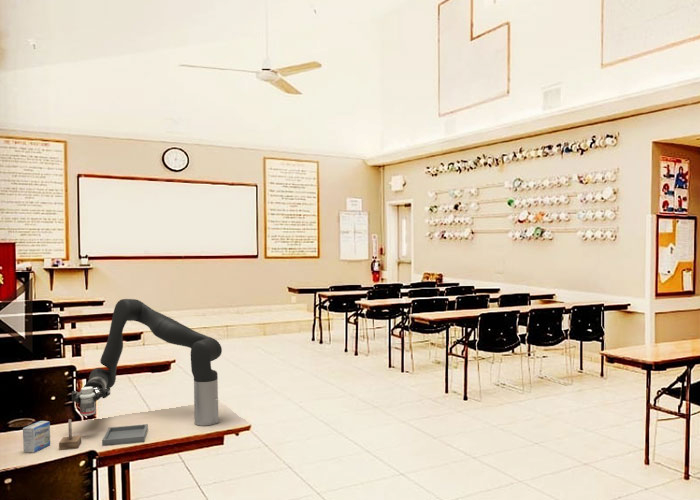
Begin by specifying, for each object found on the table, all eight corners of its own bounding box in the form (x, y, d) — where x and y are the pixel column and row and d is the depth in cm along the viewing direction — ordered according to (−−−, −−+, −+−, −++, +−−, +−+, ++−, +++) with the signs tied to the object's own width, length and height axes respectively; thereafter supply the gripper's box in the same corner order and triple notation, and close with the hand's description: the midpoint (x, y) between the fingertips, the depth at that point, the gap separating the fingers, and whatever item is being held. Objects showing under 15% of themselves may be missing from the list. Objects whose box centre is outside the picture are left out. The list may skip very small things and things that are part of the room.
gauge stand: (81, 442, 201) (80, 416, 201) (77, 448, 195) (77, 421, 195) (63, 444, 199) (62, 417, 199) (59, 450, 193) (58, 423, 193)
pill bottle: (83, 412, 209) (82, 386, 209) (98, 411, 210) (97, 385, 209) (77, 416, 204) (76, 390, 203) (93, 415, 204) (91, 389, 204)
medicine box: (34, 453, 191) (33, 428, 191) (22, 452, 192) (22, 427, 192) (50, 444, 199) (50, 421, 199) (39, 444, 200) (39, 420, 199)
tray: (147, 429, 214) (147, 424, 214) (143, 441, 201) (143, 436, 200) (108, 432, 211) (108, 427, 210) (102, 445, 197) (102, 440, 197)
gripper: (75, 380, 218) (64, 391, 202) (114, 377, 222) (106, 387, 206) (75, 399, 219) (65, 411, 202) (114, 395, 222) (107, 407, 206)
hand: (86, 399), depth 204 cm, fingers closed on pill bottle, 5 cm apart
